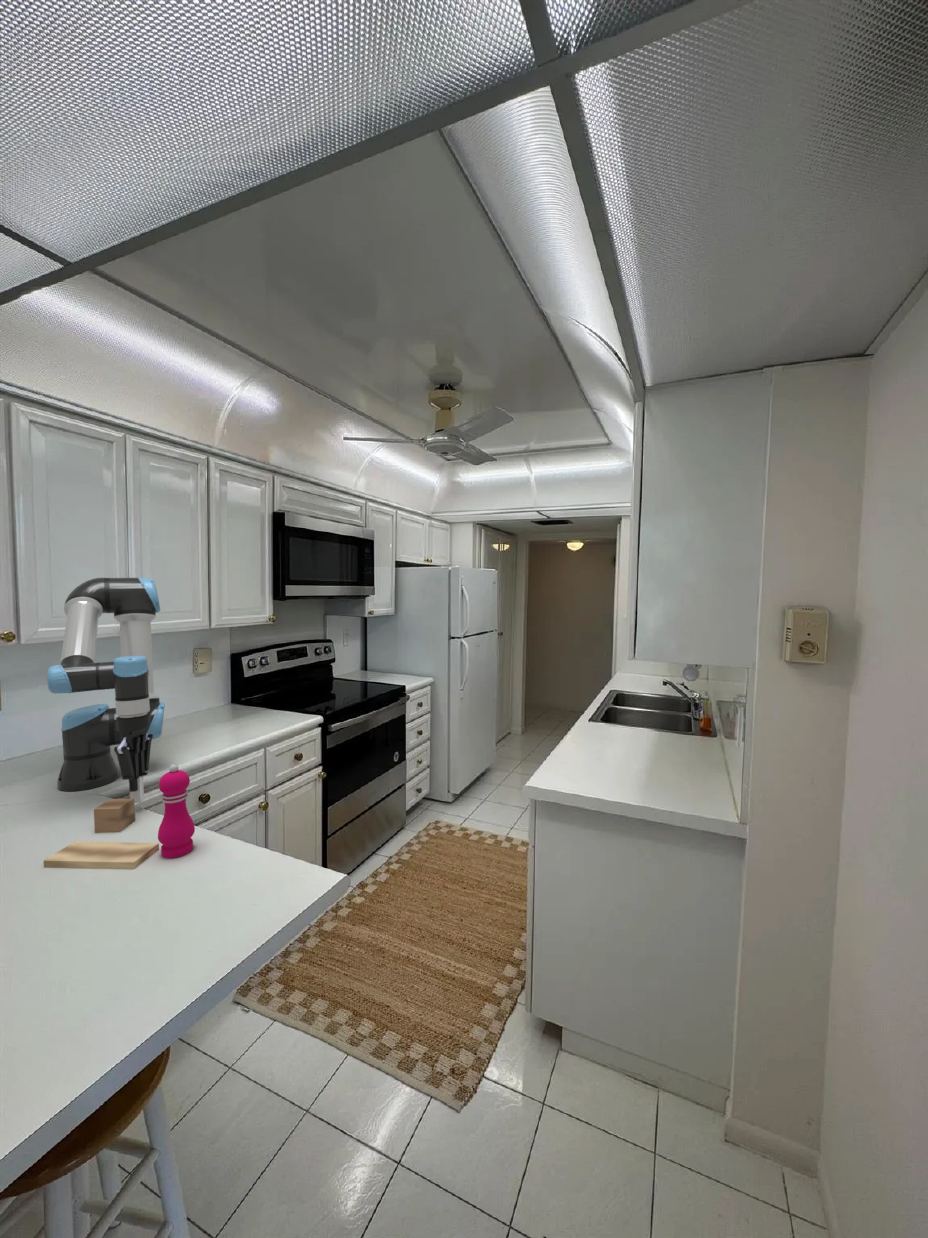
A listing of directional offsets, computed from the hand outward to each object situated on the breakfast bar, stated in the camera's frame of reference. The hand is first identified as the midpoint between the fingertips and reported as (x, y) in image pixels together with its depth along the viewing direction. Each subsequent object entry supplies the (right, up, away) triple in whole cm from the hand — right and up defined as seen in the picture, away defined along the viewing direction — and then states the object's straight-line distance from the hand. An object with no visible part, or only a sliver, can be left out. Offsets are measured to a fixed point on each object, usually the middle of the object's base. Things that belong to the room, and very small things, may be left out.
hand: (137, 801), depth 133 cm
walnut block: (0, -3, -9) cm, 9 cm away
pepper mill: (+23, -4, -21) cm, 31 cm away
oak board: (+8, -5, -23) cm, 25 cm away
